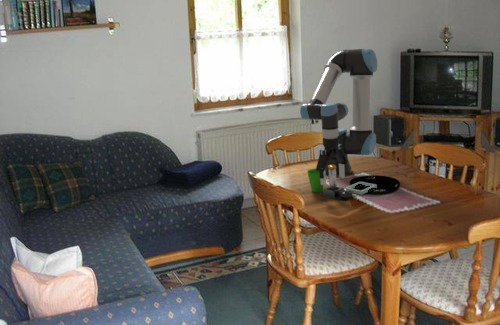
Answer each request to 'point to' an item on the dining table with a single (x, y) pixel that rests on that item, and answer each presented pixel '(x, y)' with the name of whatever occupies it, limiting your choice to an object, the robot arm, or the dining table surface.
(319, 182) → the cup
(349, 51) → the robot arm
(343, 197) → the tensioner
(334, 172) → the pin
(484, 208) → the dining table surface
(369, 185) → the tray
